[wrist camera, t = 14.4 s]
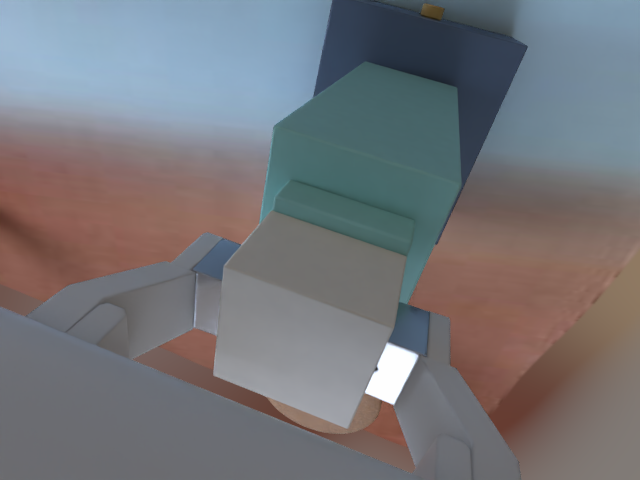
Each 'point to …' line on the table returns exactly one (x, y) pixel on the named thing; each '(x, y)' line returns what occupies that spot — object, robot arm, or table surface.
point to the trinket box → (361, 419)
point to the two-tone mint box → (339, 239)
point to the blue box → (425, 60)
